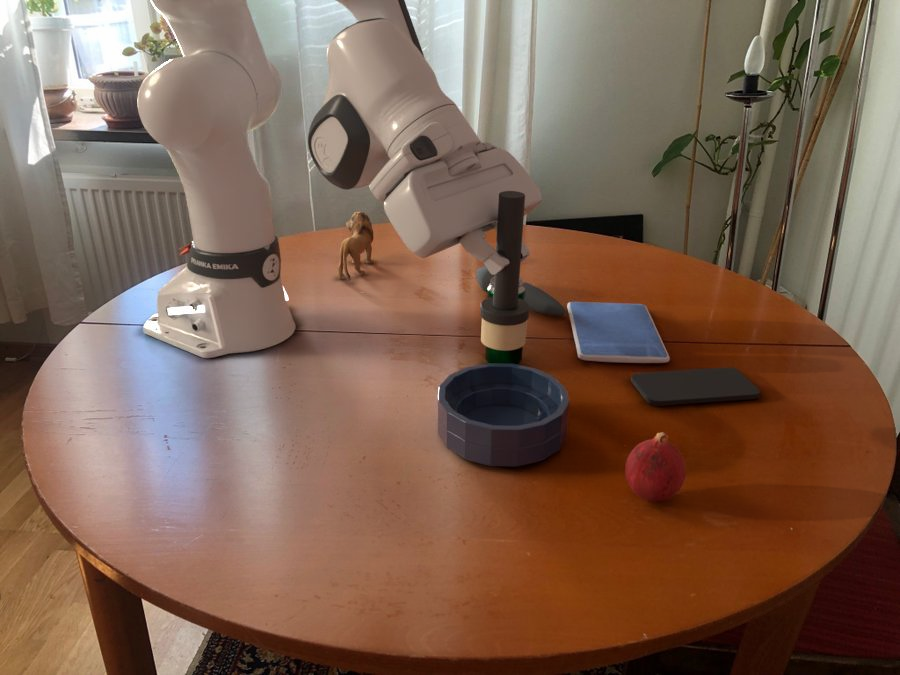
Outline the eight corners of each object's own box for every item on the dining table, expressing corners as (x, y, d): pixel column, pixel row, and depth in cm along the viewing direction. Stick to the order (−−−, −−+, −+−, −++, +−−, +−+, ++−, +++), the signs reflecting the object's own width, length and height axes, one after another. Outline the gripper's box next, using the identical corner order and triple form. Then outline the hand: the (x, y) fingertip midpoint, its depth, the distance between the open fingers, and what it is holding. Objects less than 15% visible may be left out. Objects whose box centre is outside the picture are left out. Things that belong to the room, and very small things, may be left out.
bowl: (416, 452, 83) (416, 410, 80) (467, 392, 95) (468, 354, 92) (542, 486, 77) (545, 442, 75) (579, 417, 89) (583, 378, 87)
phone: (764, 394, 93) (651, 402, 91) (762, 399, 93) (650, 408, 91) (734, 366, 99) (628, 373, 97) (733, 371, 100) (627, 378, 98)
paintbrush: (577, 313, 117) (580, 284, 115) (560, 323, 113) (562, 293, 111) (481, 282, 128) (481, 255, 126) (462, 290, 125) (462, 262, 123)
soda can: (526, 357, 103) (531, 277, 98) (514, 373, 99) (518, 290, 94) (493, 350, 105) (496, 271, 100) (479, 366, 101) (481, 284, 96)
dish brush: (478, 350, 78) (485, 200, 71) (479, 329, 83) (486, 186, 76) (527, 352, 78) (539, 202, 71) (526, 331, 83) (537, 188, 75)
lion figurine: (349, 254, 141) (346, 208, 137) (376, 255, 140) (375, 209, 136) (334, 283, 127) (331, 233, 123) (365, 284, 127) (363, 234, 123)
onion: (669, 526, 72) (681, 458, 68) (613, 506, 74) (621, 439, 71) (686, 494, 76) (698, 429, 73) (632, 476, 79) (641, 412, 75)
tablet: (566, 307, 119) (566, 299, 118) (645, 309, 118) (646, 301, 118) (578, 364, 102) (578, 355, 101) (670, 367, 101) (672, 358, 100)
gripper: (476, 156, 87) (542, 254, 86) (356, 191, 72) (435, 309, 71) (511, 122, 82) (581, 225, 82) (391, 152, 68) (475, 277, 67)
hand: (512, 265), depth 76 cm, fingers closed on dish brush, 2 cm apart
